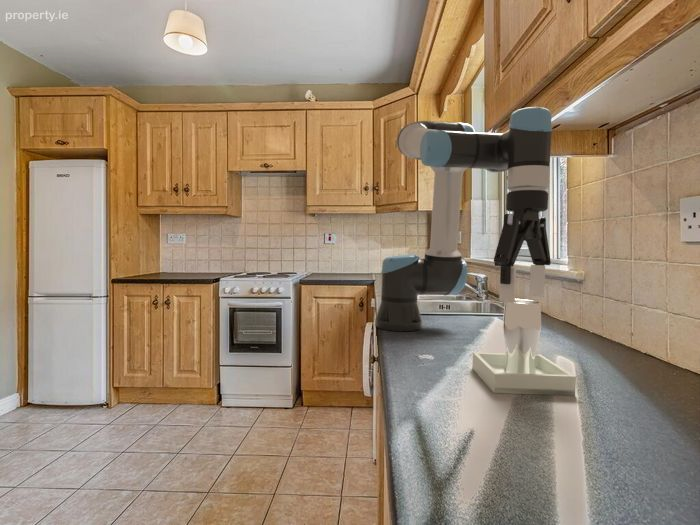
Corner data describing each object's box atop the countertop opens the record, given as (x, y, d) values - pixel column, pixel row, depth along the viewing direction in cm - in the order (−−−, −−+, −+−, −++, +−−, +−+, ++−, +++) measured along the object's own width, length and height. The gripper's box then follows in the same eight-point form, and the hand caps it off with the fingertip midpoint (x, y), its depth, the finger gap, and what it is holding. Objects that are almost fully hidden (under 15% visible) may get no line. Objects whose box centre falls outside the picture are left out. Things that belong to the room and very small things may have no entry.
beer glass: (535, 372, 84) (538, 300, 83) (541, 383, 77) (545, 304, 77) (499, 368, 86) (502, 298, 85) (502, 379, 79) (505, 302, 78)
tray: (472, 368, 89) (472, 352, 89) (539, 370, 89) (540, 354, 88) (494, 393, 74) (494, 374, 74) (575, 395, 74) (576, 376, 74)
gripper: (534, 197, 91) (529, 292, 92) (477, 185, 74) (472, 301, 75) (570, 195, 86) (565, 296, 87) (518, 181, 68) (512, 307, 69)
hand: (522, 298), depth 81 cm, fingers open, 13 cm apart
